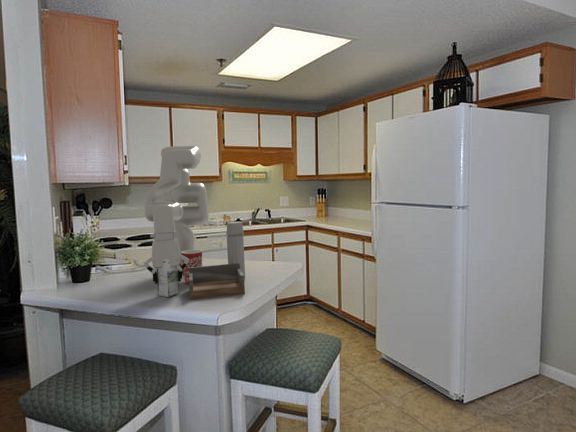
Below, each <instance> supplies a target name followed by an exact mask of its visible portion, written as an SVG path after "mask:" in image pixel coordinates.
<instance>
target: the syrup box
mask: <svg viewBox="0 0 576 432" xmlns="http://www.w3.org/2000/svg"><path fill="white" fill-rule="evenodd" d="M156 272H157V284H156V285H157V296H159V297H165V298H169V297H173V296H176V295H178V294H180V282H179V280H178V268H177V267H176V266H174V267H171V266H170V260H169V259H163V267H162V268H157V270H156Z"/></svg>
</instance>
